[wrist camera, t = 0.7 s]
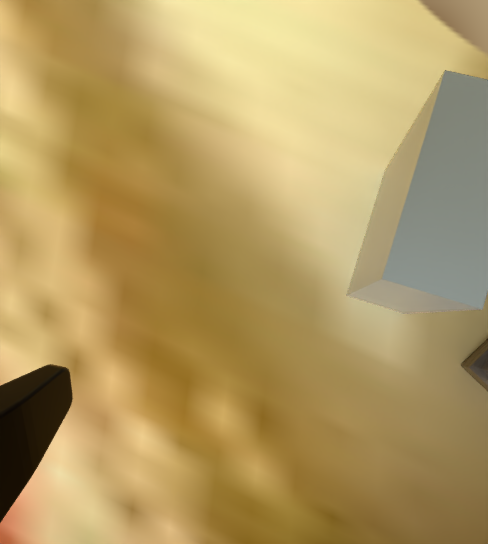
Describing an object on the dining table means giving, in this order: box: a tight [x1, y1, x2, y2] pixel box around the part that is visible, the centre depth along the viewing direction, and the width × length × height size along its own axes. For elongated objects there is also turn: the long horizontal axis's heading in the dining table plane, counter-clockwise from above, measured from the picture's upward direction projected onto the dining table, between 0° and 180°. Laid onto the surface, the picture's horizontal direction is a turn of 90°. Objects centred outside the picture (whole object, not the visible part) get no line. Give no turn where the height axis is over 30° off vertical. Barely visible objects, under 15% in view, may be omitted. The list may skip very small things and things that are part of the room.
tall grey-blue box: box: [346, 70, 488, 314], centre depth 17 cm, size 7×3×9 cm, turn 162°
